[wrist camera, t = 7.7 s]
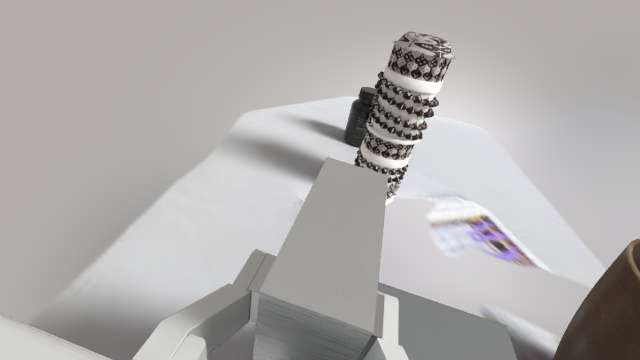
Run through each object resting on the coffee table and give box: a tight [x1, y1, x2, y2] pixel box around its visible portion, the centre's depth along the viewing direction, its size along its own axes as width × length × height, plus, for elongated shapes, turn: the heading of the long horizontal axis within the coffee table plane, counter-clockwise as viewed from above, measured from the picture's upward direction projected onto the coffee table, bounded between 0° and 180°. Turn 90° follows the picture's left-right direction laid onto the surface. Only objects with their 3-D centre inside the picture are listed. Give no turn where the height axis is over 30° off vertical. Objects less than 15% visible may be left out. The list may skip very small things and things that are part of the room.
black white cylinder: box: [354, 32, 455, 205], centre depth 42 cm, size 9×9×25 cm
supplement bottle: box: [344, 87, 378, 147], centre depth 61 cm, size 7×7×12 cm
